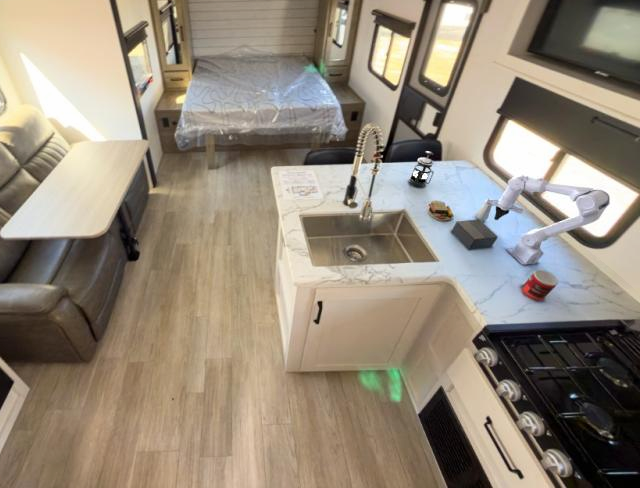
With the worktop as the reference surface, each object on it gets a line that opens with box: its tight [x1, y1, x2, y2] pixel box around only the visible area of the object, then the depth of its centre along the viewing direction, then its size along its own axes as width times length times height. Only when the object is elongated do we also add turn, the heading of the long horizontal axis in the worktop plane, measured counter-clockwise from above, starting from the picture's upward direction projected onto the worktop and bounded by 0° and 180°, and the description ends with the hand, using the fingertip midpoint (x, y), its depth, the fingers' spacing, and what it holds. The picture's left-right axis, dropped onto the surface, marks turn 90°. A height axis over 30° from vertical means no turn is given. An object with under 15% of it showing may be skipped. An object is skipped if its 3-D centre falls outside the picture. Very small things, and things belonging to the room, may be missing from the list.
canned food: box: [521, 269, 559, 302], centre depth 134 cm, size 8×8×11 cm
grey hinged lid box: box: [451, 218, 498, 250], centre depth 162 cm, size 13×13×7 cm
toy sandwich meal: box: [427, 200, 454, 222], centre depth 178 cm, size 12×14×5 cm
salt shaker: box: [475, 198, 494, 222], centre depth 172 cm, size 6×6×13 cm
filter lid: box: [456, 219, 486, 239], centre depth 159 cm, size 13×6×1 cm, turn 7°
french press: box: [408, 150, 435, 189], centre depth 197 cm, size 12×9×23 cm
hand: (495, 218), depth 161 cm, fingers closed
